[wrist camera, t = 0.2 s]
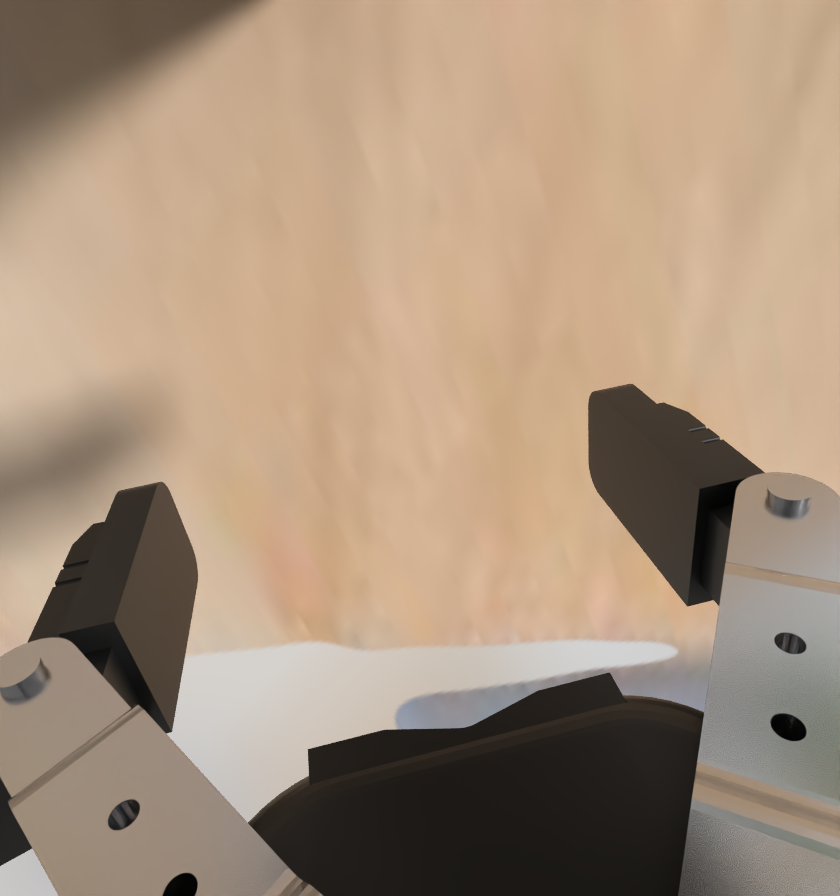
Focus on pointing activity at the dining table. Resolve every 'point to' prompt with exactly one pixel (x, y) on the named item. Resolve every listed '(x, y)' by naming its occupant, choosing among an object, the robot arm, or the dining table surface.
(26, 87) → the dining table surface
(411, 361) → the dining table surface
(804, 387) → the dining table surface
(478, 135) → the dining table surface
